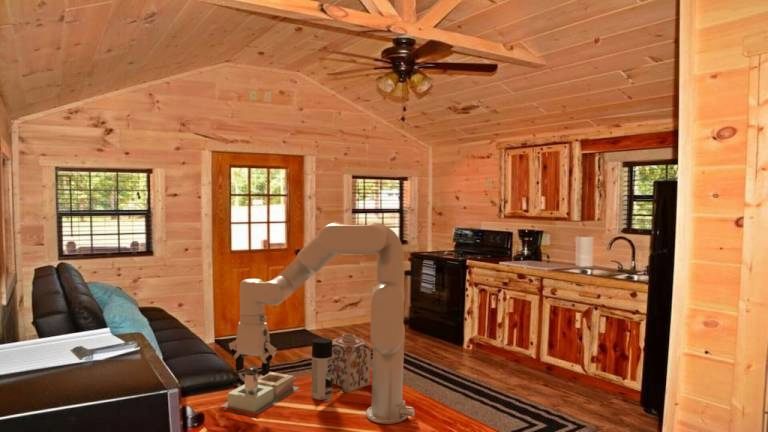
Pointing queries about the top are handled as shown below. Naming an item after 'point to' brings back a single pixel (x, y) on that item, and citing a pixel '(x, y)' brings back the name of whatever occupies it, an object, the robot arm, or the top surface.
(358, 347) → the decorative jar
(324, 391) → the spray can
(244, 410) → the base board
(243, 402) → the sage dock
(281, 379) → the maple mount
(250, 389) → the steel pin
